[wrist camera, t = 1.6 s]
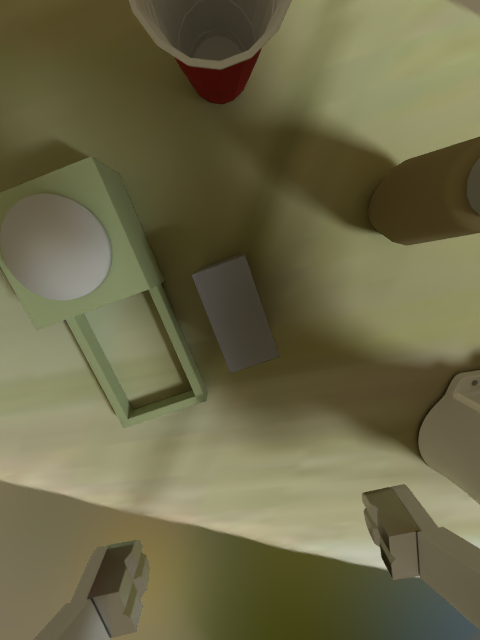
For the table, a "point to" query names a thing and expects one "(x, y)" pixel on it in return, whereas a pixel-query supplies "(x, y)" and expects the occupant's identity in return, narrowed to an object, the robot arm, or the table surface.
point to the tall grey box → (236, 313)
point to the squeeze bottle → (430, 196)
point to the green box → (86, 267)
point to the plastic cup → (212, 38)
